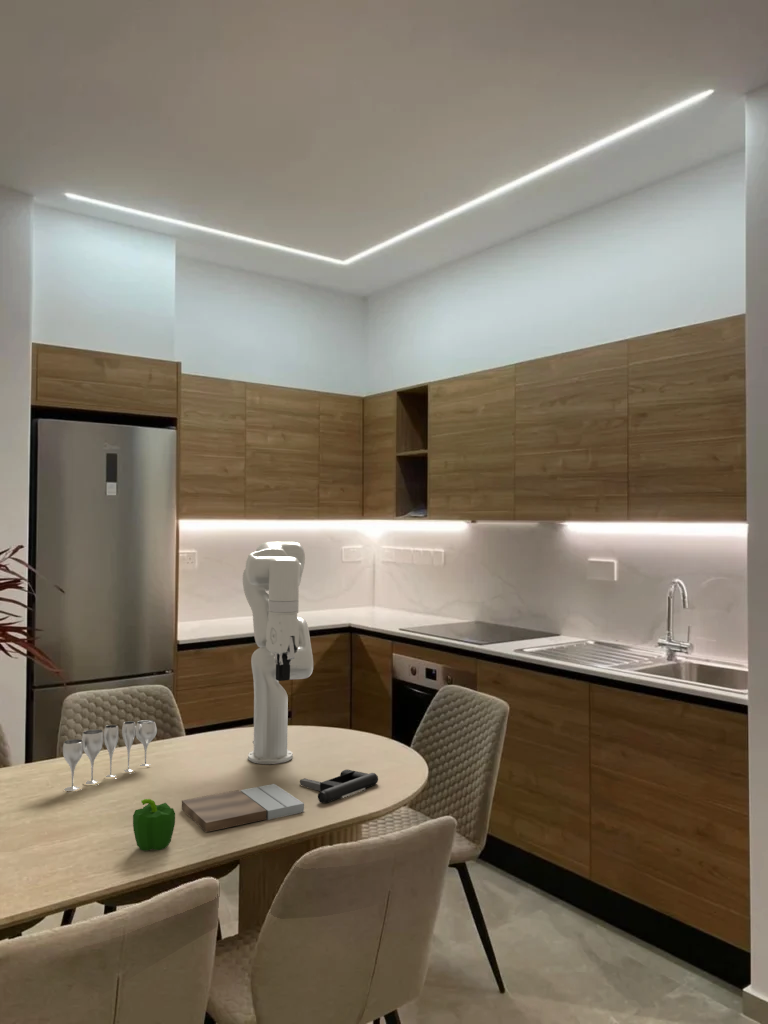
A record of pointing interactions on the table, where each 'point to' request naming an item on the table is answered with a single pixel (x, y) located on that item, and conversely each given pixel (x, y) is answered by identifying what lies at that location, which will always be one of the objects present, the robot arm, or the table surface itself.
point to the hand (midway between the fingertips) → (282, 679)
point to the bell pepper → (153, 825)
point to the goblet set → (107, 744)
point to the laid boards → (274, 801)
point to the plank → (223, 810)
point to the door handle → (341, 785)
